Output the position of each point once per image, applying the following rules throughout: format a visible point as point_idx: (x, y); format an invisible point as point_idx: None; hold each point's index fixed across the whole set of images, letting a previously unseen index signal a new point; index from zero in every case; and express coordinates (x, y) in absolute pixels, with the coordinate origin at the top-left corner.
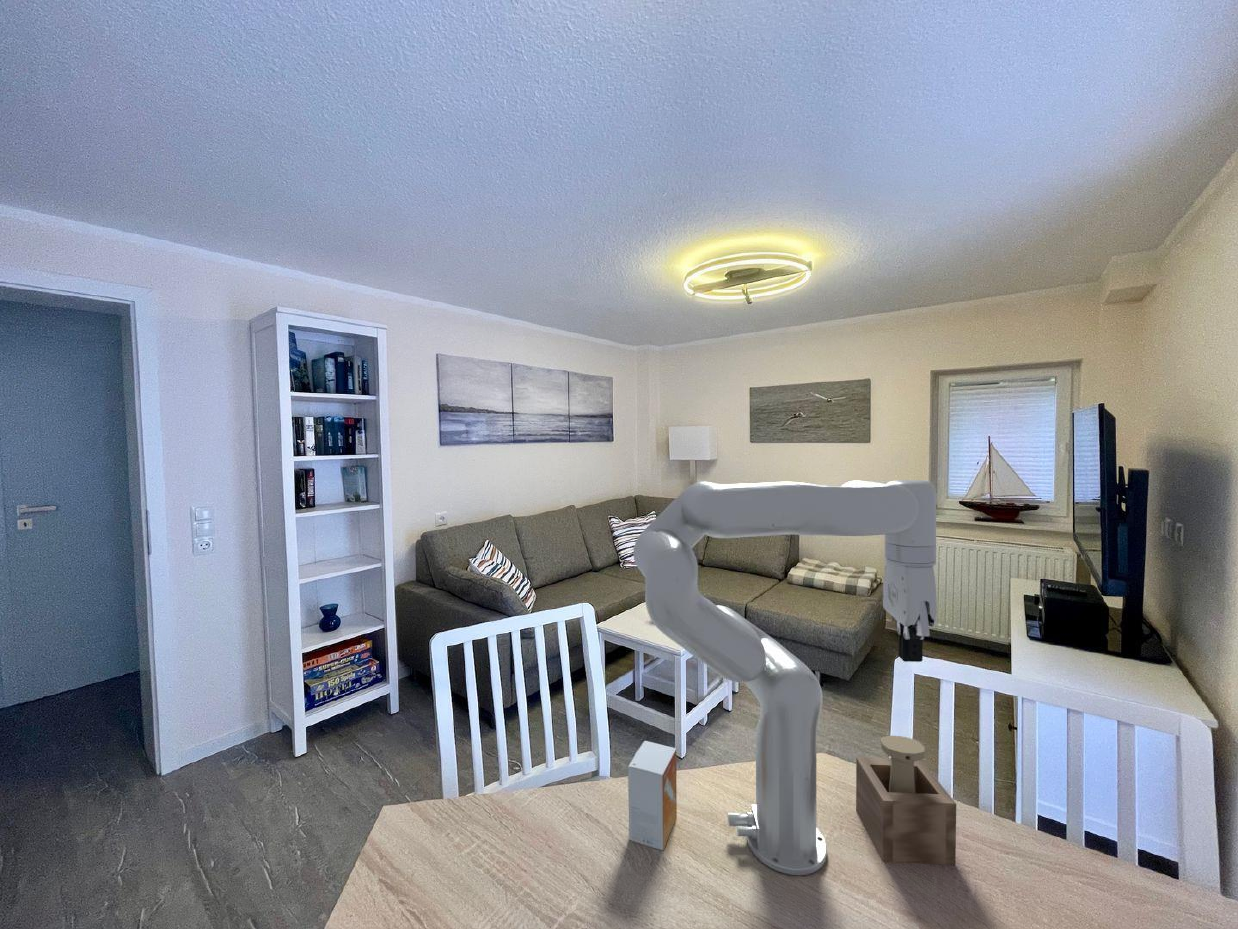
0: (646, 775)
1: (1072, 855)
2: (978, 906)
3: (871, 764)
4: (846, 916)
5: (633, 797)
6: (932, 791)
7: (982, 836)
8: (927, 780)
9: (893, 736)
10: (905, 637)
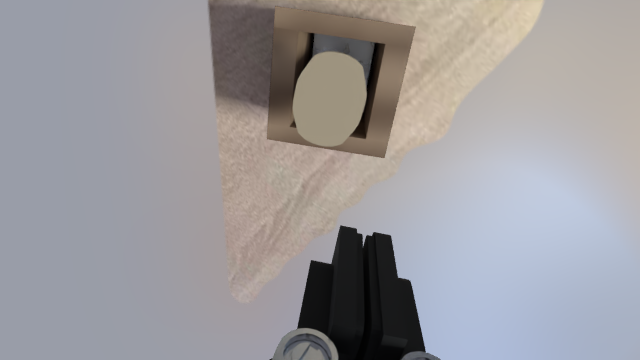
0: None
1: (296, 246)
2: (230, 97)
3: (385, 48)
4: None
5: None
6: None
7: (329, 178)
8: None
9: (363, 100)
10: (307, 344)
